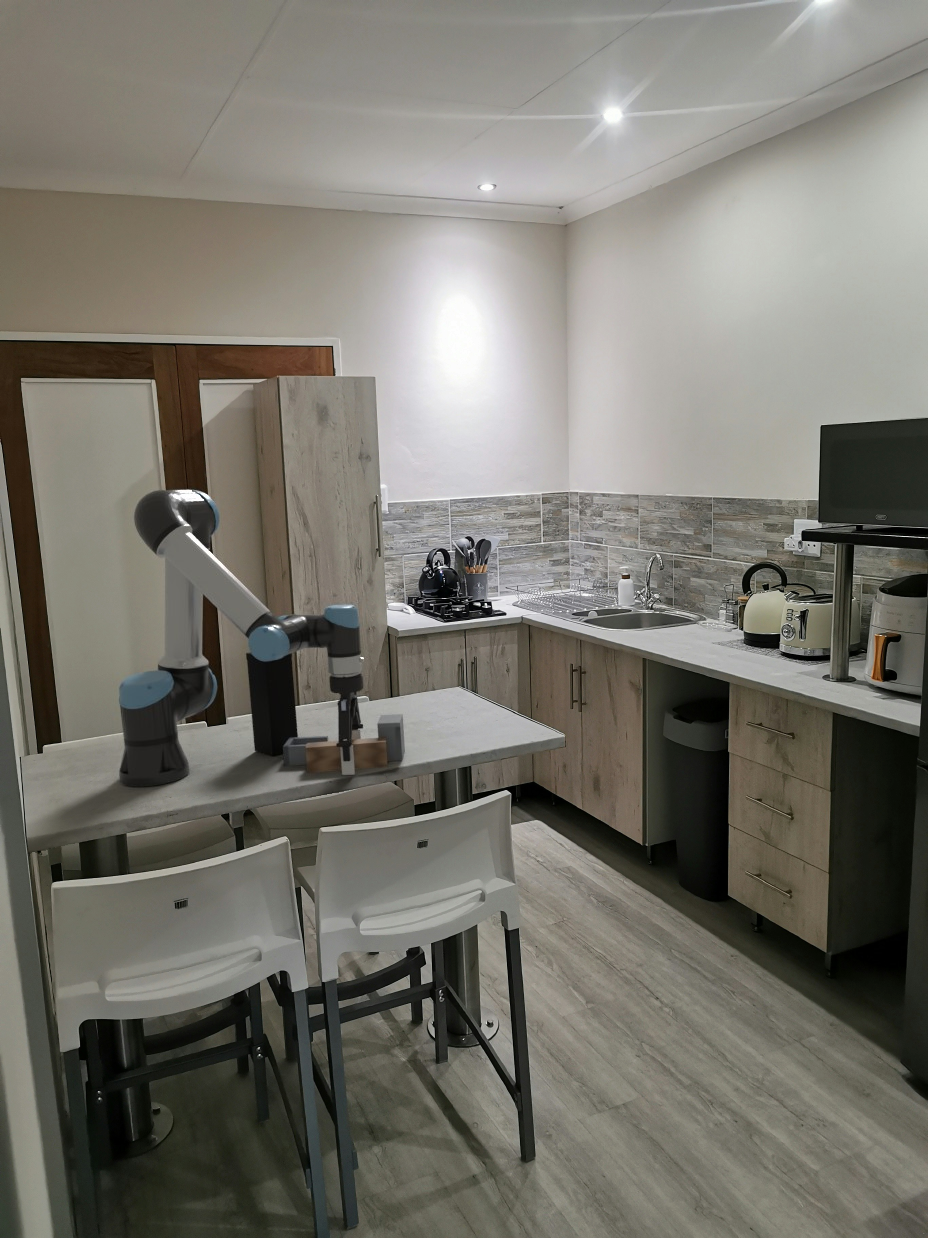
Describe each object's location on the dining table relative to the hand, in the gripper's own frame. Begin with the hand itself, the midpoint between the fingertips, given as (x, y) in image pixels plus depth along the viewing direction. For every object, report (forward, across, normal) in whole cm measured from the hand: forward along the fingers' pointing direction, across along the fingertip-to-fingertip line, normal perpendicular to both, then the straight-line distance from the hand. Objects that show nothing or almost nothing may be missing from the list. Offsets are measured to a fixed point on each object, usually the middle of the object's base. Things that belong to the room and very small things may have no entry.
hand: (352, 765), depth 210 cm
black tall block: (0, +16, +21) cm, 26 cm away
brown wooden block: (0, 0, +1) cm, 1 cm away
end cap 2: (0, +7, -8) cm, 11 cm away
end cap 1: (0, +7, +12) cm, 14 cm away
